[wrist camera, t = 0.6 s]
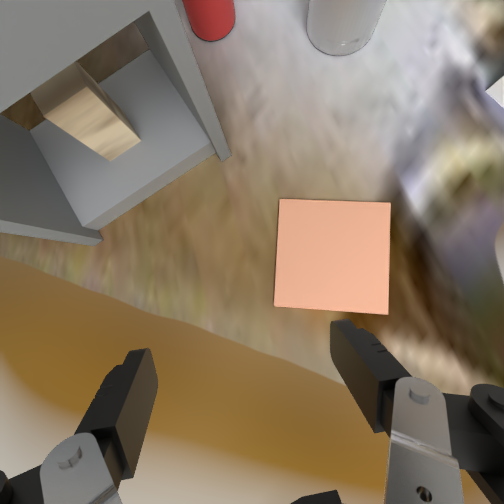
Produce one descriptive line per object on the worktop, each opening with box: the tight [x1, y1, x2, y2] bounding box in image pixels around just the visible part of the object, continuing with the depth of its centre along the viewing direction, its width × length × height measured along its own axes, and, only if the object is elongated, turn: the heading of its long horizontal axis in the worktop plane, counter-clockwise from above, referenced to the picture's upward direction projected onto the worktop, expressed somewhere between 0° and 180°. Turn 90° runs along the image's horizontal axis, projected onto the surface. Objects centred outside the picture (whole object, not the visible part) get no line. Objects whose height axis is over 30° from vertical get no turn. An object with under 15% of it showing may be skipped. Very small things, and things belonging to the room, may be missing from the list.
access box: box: [0, 0, 232, 246], centre depth 25 cm, size 18×23×26 cm
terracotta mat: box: [274, 199, 391, 315], centre depth 34 cm, size 14×14×1 cm
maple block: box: [30, 61, 141, 161], centre depth 30 cm, size 5×5×10 cm
